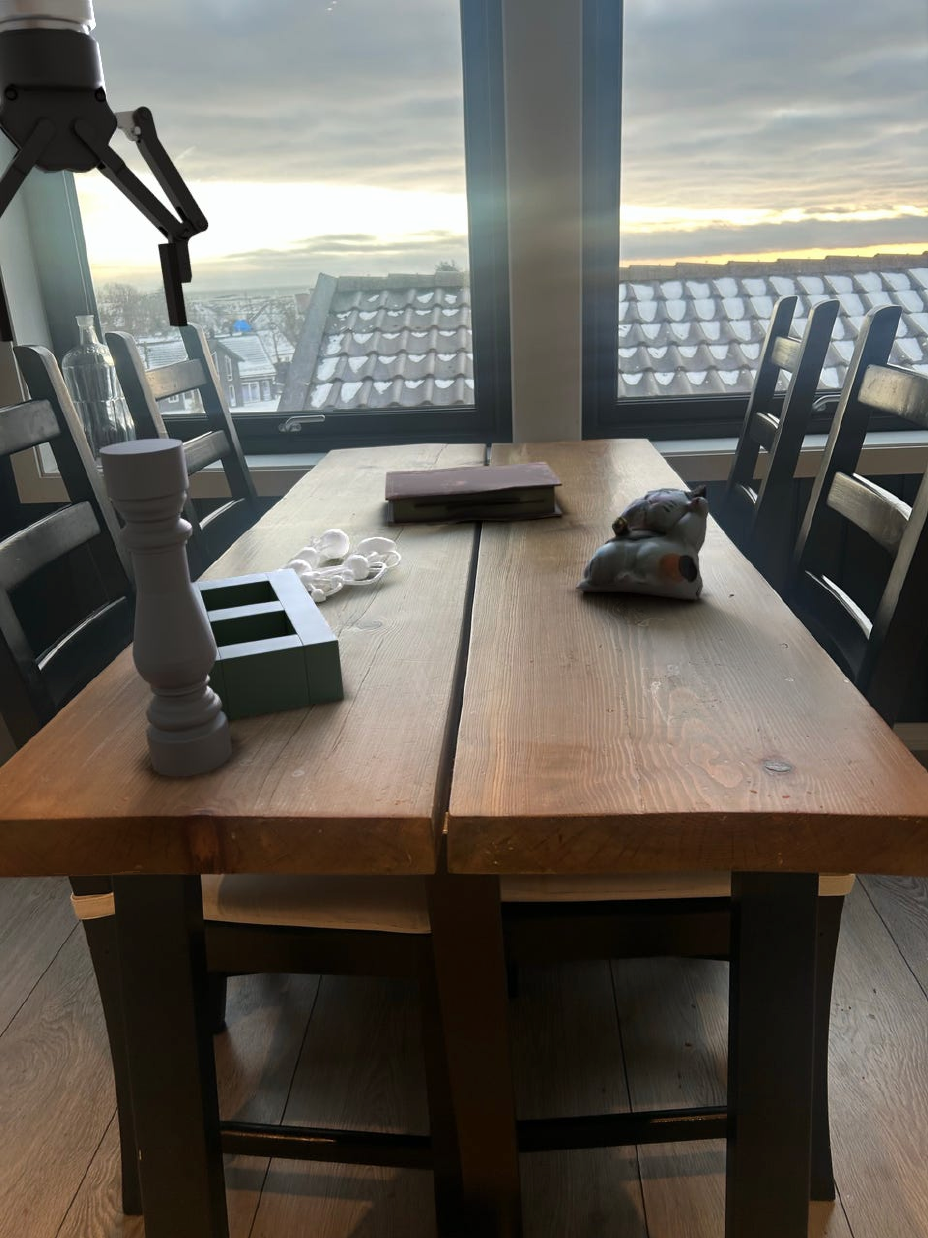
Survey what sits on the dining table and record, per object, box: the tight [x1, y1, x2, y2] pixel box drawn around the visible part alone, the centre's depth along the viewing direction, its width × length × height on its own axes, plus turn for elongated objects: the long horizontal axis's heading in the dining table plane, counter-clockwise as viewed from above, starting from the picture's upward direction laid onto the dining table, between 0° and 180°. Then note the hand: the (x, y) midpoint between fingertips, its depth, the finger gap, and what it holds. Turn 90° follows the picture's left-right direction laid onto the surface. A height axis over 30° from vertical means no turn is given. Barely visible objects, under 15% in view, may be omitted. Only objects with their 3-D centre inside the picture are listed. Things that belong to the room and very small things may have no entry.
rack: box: [191, 568, 345, 721], centre depth 95 cm, size 13×23×6 cm, turn 19°
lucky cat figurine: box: [574, 484, 710, 603], centre depth 108 cm, size 15×12×14 cm
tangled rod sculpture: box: [275, 528, 403, 603], centre depth 119 cm, size 19×14×4 cm
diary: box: [384, 461, 564, 526], centre depth 149 cm, size 19×25×5 cm
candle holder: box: [98, 438, 233, 777], centre depth 74 cm, size 6×6×25 cm
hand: (95, 333), depth 81 cm, fingers open, 13 cm apart
